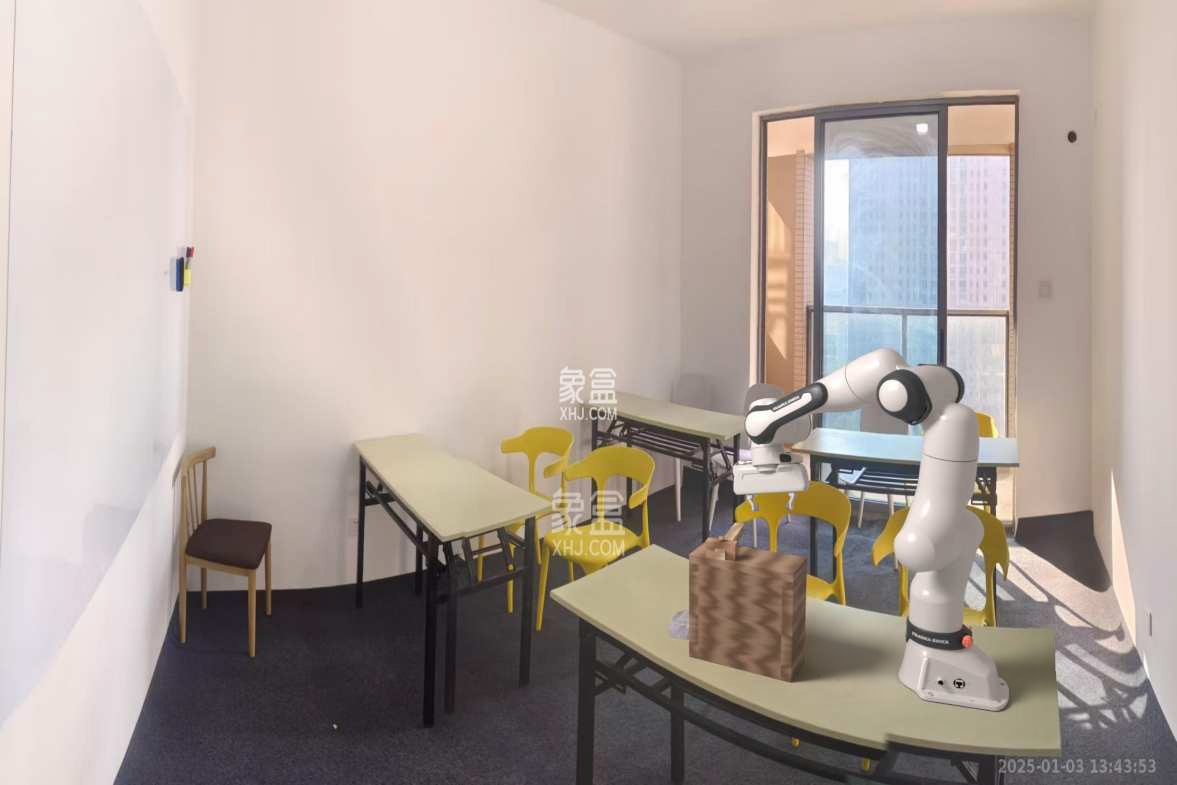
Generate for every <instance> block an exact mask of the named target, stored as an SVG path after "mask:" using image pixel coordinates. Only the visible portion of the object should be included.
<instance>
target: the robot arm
mask: <svg viewBox="0 0 1177 785" xmlns="http://www.w3.org/2000/svg"><path fill="white" fill-rule="evenodd" d="M965 387H966V385H965V381H964V379H963V377H962V375H961V374H960V373H959V372H958V371H957V370H956V369H954V368H952V367H950V366H946V365H943V364H942V365H941V364H932V363H931V364H930V363H918V364H916V366H914V365H913V366H912V365H909V364H908V363H907V362H906V360H905V358H904V357H903V355H901V353H899V352H898V351H896V349H893V348H889V347H881V348H878V349H875V350H872V351H870V352H867V353H865V354H863V355H860V356H859V357H857V358H855V359H853V360H852V361H850V362H849V363H846V364H845V365H843V366H842V367H840V368H838V369H836V370H835V371H833V372H831V373H829V374H828V375H826V376H824V377H822V378H820V379H818V380H816V381H814V382H813V383H810V384H807V385H806V386H804V387H802V388H799V389H797V390H795V391H794V392H792V393H791V392H790V394H788V395H786V396H783V397H782V398H780V399H778V398H776V397H772V396H771V397H770V396H768V397H763V398H757V399H756V400H753V401H752V402H751V403H750V404H749V409H748V412H747V414H746V416H745V419H744V431H745V434H746V435H747V436H748V439H749V440H751V445H750V456H751V459H748V460H738V461H736V463H734V464H733V466H732V474H733V492H734V494H735V495H737V496H739V495H740V496H741V495H742V496H744V495H746V500H747V501H748V503H749V504H750V505H751V511H752V512H760V511H761V510H760V504H757V503H756V502H755V500H754V499H755V495H757V494H758V495H760V494H777V493H779V494H780V493H788V496H789V497H790V499H789V501H788V502H787V503H785V510H786V511H790V510H791V511H793V510H794V509H795V508H794V503H795V502H796V499H797V497H798V493H797V492H807V491H808V490H809V489H810V486H811V485H810V479H809V474H808V470H807V467H806V466H805V465H804V464H803V462H804V457H803V455H801V454H796V453H792V452H790V451H785V445H784V444H799V443H801V442H805V441H806V440H807V439H808V438H809V436H810V434H811V431H812V426H813V425H812V424H813V423H812V419H811V416H810V415H813V414H821V413H823V414H824V413H851V412H855V411H858V410H862V409H864V408H867V407H869V406H871V405H873V404H875V403H878V406H879V407H880V409H882V411H883V412H884V413H885V414H887V415H889V416H891V417H892V418H896V419H898V420H901V421H902V422H904V423H906V424H908V425H910V426H918V425H920V427H921V428H922V431H923V440H922V448H921V455H920V456H921V457H920V465H919V474H918V479H917V480H918V481H917V485H916V489H915V490H916V491H915V493H914V496H913V499H912V501H911V504H910V507H909V510H908V513H907V516H906V518H905V521H904V523H903V525H902V527H901V528H900V530H899V531H898V532H897V535H896V536H895V538H894V541H893V552H894V554H895V557H896V559H897V560H898V562H899V563H900V564H901V565H902V566H903V567H904V568H905V569H907V570H909V571H910V572H914V573H915V575H914V577H913V579H912V581H911V583H910V586H909V601H908V615H907V617H906V619H905V628H904V629H905V630H904V633H905V634H904V637H905V643H906V644H905V649H904V653H903V659H902V662H901V665H900V667H899V670H898V672H897V676H898V678H899V680H900V682H901V683H902V684H904V685H905V686H906V687H907V688H909V689H911V690H912V691H913V692H915V693H916V694H917V695H918V696H919V697H920V698H921V699H922V700H925V701H929V702H934V703H941V704H942V703H943V704H947V705H948V704H949V705H953V706H961V707H967V708H973V709H974V708H975V709H980V710H985V711H986V710H987V711H993V712H998V711H1001V710H1003V709H1004V708H1006V707H1007V705H1008V704H1009V702H1010V700H1009V699H1010V689H1009V685H1008V684H1007V682H1006V681H1005V680H1004V679H1003V678H1002V677H1000V676H999V673H998V669H997V666H996V662H994V660H993V658H991V657H990V656H989V655H988V654H986V653H985V652H984V651H983V650H982V649H981V648H979V647H978V646H977V645H976V644H974V639H973V629H972V626H971V625H969V627H967V626H966V625H965V624H964V623H963V622H964V611H965V608H964V607H965V597H966V596H965V595H966V590H967V586H968V582H969V578H970V576H971V572H972V569H973V566H974V562H975V557H976V554H977V551H978V549H979V547H980V545H981V543H982V541H983V539H984V537H985V527H984V525H983V522H982V520H981V519H980V517H979V516H978V515H977V514H976V513H974V511H972V510H969V509H967V507H968V504H969V502H970V501H971V499H972V498H973V495H974V492H975V487H976V480H977V479H976V477H977V472H978V463H979V454H980V424H979V418H978V414H977V412H975V411H974V409H973V408H971V407H969V406H967V405H965V404H962V403H960V402H961V400H962V399H963V398H964V395H965V392H966V390H965V389H966V388H965Z"/></svg>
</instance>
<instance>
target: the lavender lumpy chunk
mask: <svg viewBox="0 0 1177 785" xmlns="http://www.w3.org/2000/svg"><path fill="white" fill-rule="evenodd" d="M668 624H669V626H668V632H669V634H670V636H671V637H672V638H674V639H676V640H677V639H678V640H684V641H685V640H686V641H687V640H688V641H689V609H682V610H679V611H677V612H675V614H674V615H673V616H672V618H671V620H670V622H669V623H668Z"/></svg>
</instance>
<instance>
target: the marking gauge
mask: <svg viewBox="0 0 1177 785" xmlns="http://www.w3.org/2000/svg"><path fill="white" fill-rule="evenodd" d="M744 534H745V523H742V522H741V523H739V522H734V524H733V525H732V526H731V527H730V529H728V531H727V533H726V534H725V535H719V536H718V538H715V537H707V539H706V540H705V541H706V557H708V558H715V559H720V560H730V561H735V560H736V559H737V557H738V546H739V544H738V542H739V541H740V539H741V538H742V537H743V535H744Z"/></svg>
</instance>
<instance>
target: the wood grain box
mask: <svg viewBox="0 0 1177 785" xmlns="http://www.w3.org/2000/svg"><path fill="white" fill-rule="evenodd" d="M807 568H808V557H807V556H799V555H793V554H789V553H783V552H777V551H771V550H765V549H761V548H755V547H748V546H742V545H738V557H737V559H736V560H735V561H730V560H720V559H715V558H708V557H706V540H705V541H704V542H703V543H701V545H699V546H698V547H696V548H695V549H694V550H693V551H692V552H691V553H689V554H688V593H689V594H688V610H689V640H688V656H689V658H695V659H698V660H702V661H706V662H708V663H713V664H717V665H721V666H726V667H729V668H733V669H737V670H741V671H744V672H748V673H752V674H756V675H760V676H763V677H768V678H772V679H774V680H778V681H783V682H787V683H792V682H793V680H794V679H795V677H796V676H797V674H798V672H799V670H800V669H801V667H802V666H803V664H804V663H805V659H806V658H805V654H806V653H805V652H806V651H805V650H806V647H805V646H806V616H807V615H806V610H807V576H808V575H807V574H808V571H807V570H808V569H807Z"/></svg>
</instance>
